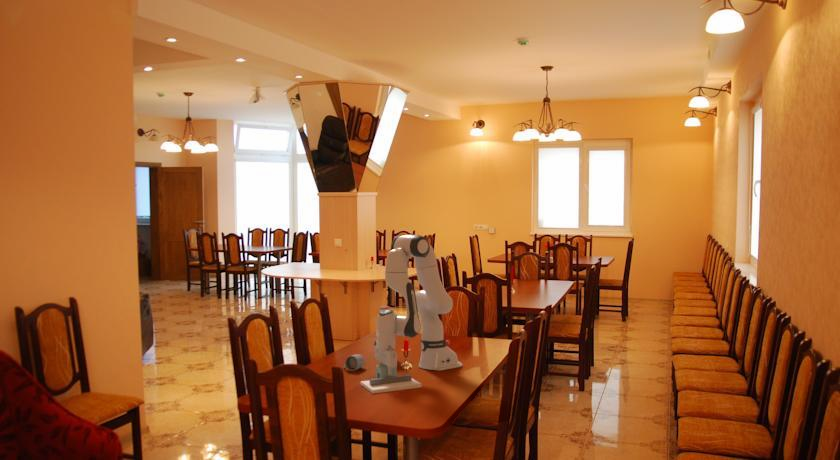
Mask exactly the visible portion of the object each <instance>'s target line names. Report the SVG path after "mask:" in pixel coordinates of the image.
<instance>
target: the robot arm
mask: <svg viewBox="0 0 840 460" xmlns="http://www.w3.org/2000/svg"><path fill="white" fill-rule="evenodd" d="M411 257H412V258H413V259H414V264H415V270H416V276H417V282H418V283H419V285H420V286H421V287H422V289H421V290H417V291H415V287H414V284H413V283H412V282H411V280H410V279H409V269H408V268H409V267H408V263H409V259H410V258H411ZM438 266H439V265H438V261H437V255H436V252H435V249H434V248H433V246H432V245H431V244H430V242H429V240H428V239H427V238H426V237H425V236H424V235H419V234H418V235H416V234H399V235H396V236H394V237H393V239H392V241H391V246H390V250H389V251H388V252H387V256H386V259H385V267H384V268H385V272H384V275H385V283H386V285H387V286H388V287H389V288H390V289H391V290H393V291H394V292H397V293H398V294H399V295H401V296H402V298H403V299H404V300H405V308H406V315H402V314H401V315H400V314H396V313H395V311H394V310H392V309H389V310H382V311H381V310H380V311H379V312H378V314H377V318H376V323H377V324H376V331H377V332H378V335H377V340H376V339H375V340H374V341H373V346H374V357H375V360H377V361H378V362H379V365H384V364H385V365H386V366H387V368H388V371H387V374H388V375H391V371H392V368H394V367H397V366H398V356H397V355H398V354H397V351H396V350H395V348H396V336H403V337H408V338H415V337H416V336H417V335H419V334H420V332H421V340H420V350H421V353H420V359H419V362H418V367H419V368H420V369H423V370H430V371H431V370H432V371H433V370H434V371H445V370H446V371H447V370H451V369H456V368H462V367H463V363H462V362H461V361H459V360H458V355H457V353H456V352H455V351H454V350H452V349H451V348H450V347H449V346H447V345H450V344H451V341H450V339H445V338H444V324H443V322H442V320H441V319H440V317H439V315H444V314H445V315H446V314H448V313H450V312H451V311H452V309H453V306H454V301H453V298H452V296H450V295H449V293H447V291H446V289H445V287H444V285H443V283H442V281H441V277H440V276H441V275H440V272H439V268H438ZM395 335H396V336H395Z"/></svg>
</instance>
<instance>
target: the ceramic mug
mask: <svg viewBox="0 0 840 460" xmlns="http://www.w3.org/2000/svg"><path fill="white" fill-rule="evenodd" d="M365 362H366V360H365V357H364V356H363V355H362V354H358V353H355V354H352V355H348V356H347V357H346V358H345V360H344V364H343V365H342V367H343V369H347V370H348V371H349V372H354V371H357V370H360V369H361V368H362V367H364V366H365V364H366V363H365Z"/></svg>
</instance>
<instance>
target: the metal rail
mask: <svg viewBox="0 0 840 460" xmlns="http://www.w3.org/2000/svg"><path fill="white" fill-rule="evenodd" d="M412 379H413V377H412V374H409V373H408V374H402V375H400V374H399V375H397V376H392V377H383V378H376V377H375V378H370V379H369V380H370V385H371V386H374V385H382V384H390V383H398V382H406V381H412Z"/></svg>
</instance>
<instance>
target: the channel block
mask: <svg viewBox="0 0 840 460" xmlns="http://www.w3.org/2000/svg"><path fill="white" fill-rule="evenodd" d="M397 369H398V368H397V367H394V368H392V371H391V375H388V374H387V371H388V368H387V366H386V365H385V364H384V365H380V364H376V365H375V378H383V377H392V376H398V375H397V374H398V373H397V372H398V371H397Z"/></svg>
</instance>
